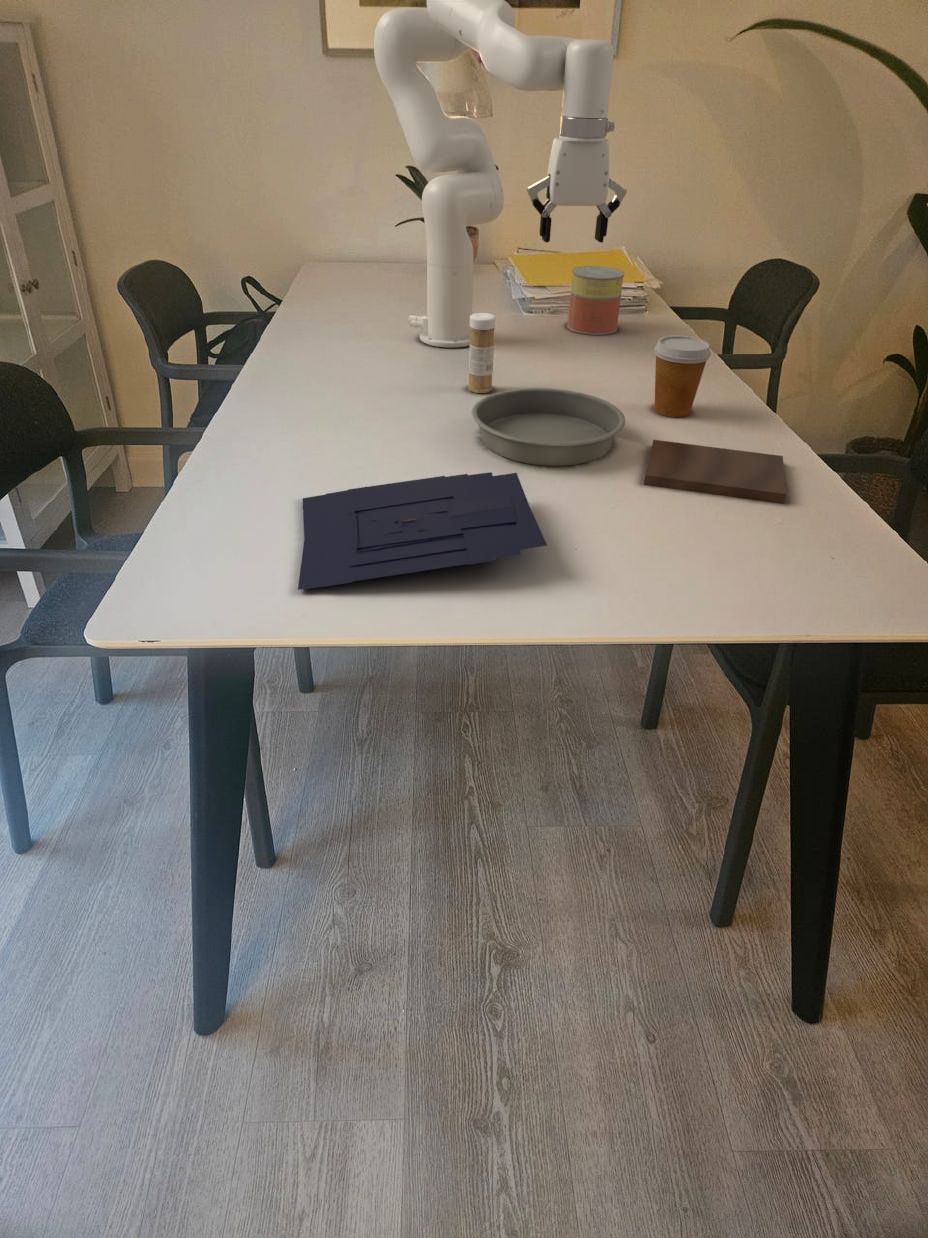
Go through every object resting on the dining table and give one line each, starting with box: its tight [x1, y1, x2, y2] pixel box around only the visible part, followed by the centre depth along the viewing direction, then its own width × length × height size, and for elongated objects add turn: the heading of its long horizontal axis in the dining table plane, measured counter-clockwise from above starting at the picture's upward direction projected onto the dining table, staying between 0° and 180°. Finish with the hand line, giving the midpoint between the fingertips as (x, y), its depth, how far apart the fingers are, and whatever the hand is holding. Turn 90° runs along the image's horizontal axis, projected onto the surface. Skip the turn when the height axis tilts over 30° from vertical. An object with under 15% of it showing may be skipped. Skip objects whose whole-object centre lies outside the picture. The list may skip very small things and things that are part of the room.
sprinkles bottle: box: [467, 312, 496, 394], centre depth 154 cm, size 5×5×14 cm
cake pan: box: [471, 387, 626, 467], centre depth 139 cm, size 25×25×4 cm
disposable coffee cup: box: [653, 335, 712, 418], centre depth 149 cm, size 10×10×12 cm
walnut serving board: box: [643, 439, 787, 504], centre depth 130 cm, size 20×14×2 cm
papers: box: [297, 471, 548, 591], centre depth 111 cm, size 24×30×4 cm
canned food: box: [566, 265, 625, 336], centre depth 190 cm, size 11×11×12 cm
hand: (572, 240), depth 151 cm, fingers open, 9 cm apart
